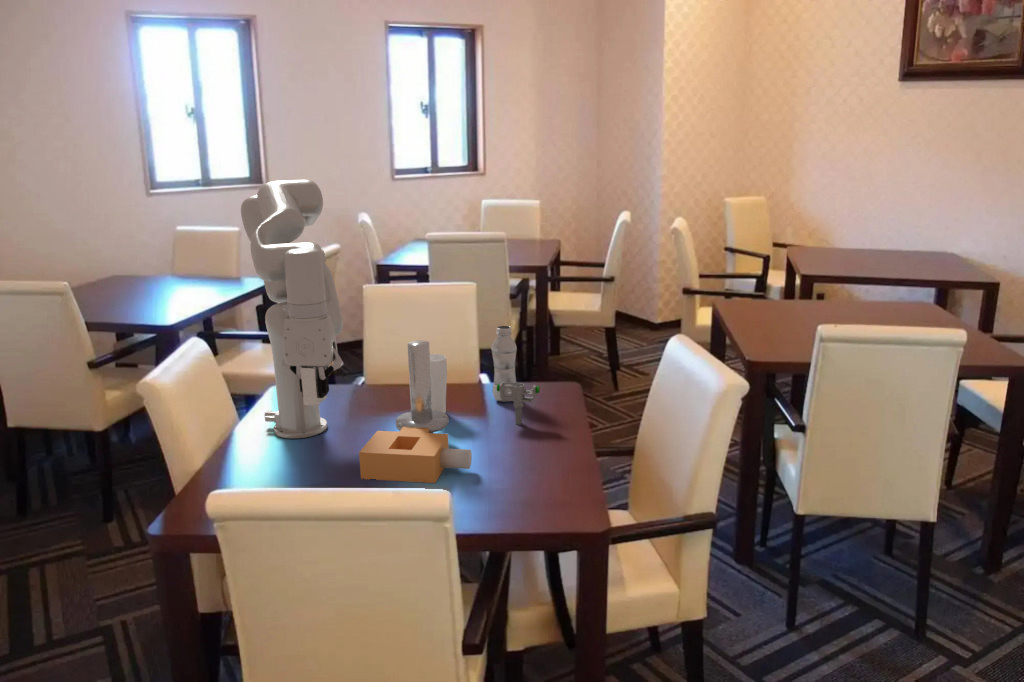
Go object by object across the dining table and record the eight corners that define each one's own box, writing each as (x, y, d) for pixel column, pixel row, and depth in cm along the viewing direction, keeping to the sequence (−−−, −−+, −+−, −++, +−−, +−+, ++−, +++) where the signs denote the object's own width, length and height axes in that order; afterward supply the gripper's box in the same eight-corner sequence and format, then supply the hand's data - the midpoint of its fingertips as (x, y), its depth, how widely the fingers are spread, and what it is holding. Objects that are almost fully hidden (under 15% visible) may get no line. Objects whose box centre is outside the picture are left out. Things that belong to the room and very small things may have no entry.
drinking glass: (427, 420, 200) (425, 362, 196) (417, 412, 205) (415, 356, 201) (452, 415, 203) (450, 358, 199) (442, 407, 208) (440, 352, 204)
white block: (303, 404, 166) (300, 368, 164) (313, 396, 171) (310, 360, 169) (317, 405, 166) (314, 368, 163) (326, 397, 170) (323, 361, 168)
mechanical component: (538, 426, 194) (538, 387, 192) (497, 424, 196) (496, 385, 194) (540, 422, 197) (540, 383, 195) (499, 420, 199) (498, 381, 197)
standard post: (390, 452, 181) (384, 350, 174) (405, 432, 192) (400, 335, 186) (442, 455, 179) (437, 351, 173) (454, 434, 190) (450, 337, 184)
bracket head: (360, 478, 168) (358, 452, 166) (383, 450, 182) (381, 425, 181) (464, 484, 164) (463, 457, 163) (478, 455, 179) (477, 429, 177)
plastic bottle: (518, 404, 210) (516, 330, 204) (492, 404, 210) (490, 330, 205) (518, 396, 216) (517, 324, 211) (493, 396, 216) (491, 324, 211)
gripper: (261, 313, 161) (270, 400, 166) (339, 315, 158) (346, 403, 163) (277, 304, 168) (286, 388, 173) (352, 306, 165) (358, 391, 170)
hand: (315, 394), depth 168 cm, fingers closed on white block, 3 cm apart
